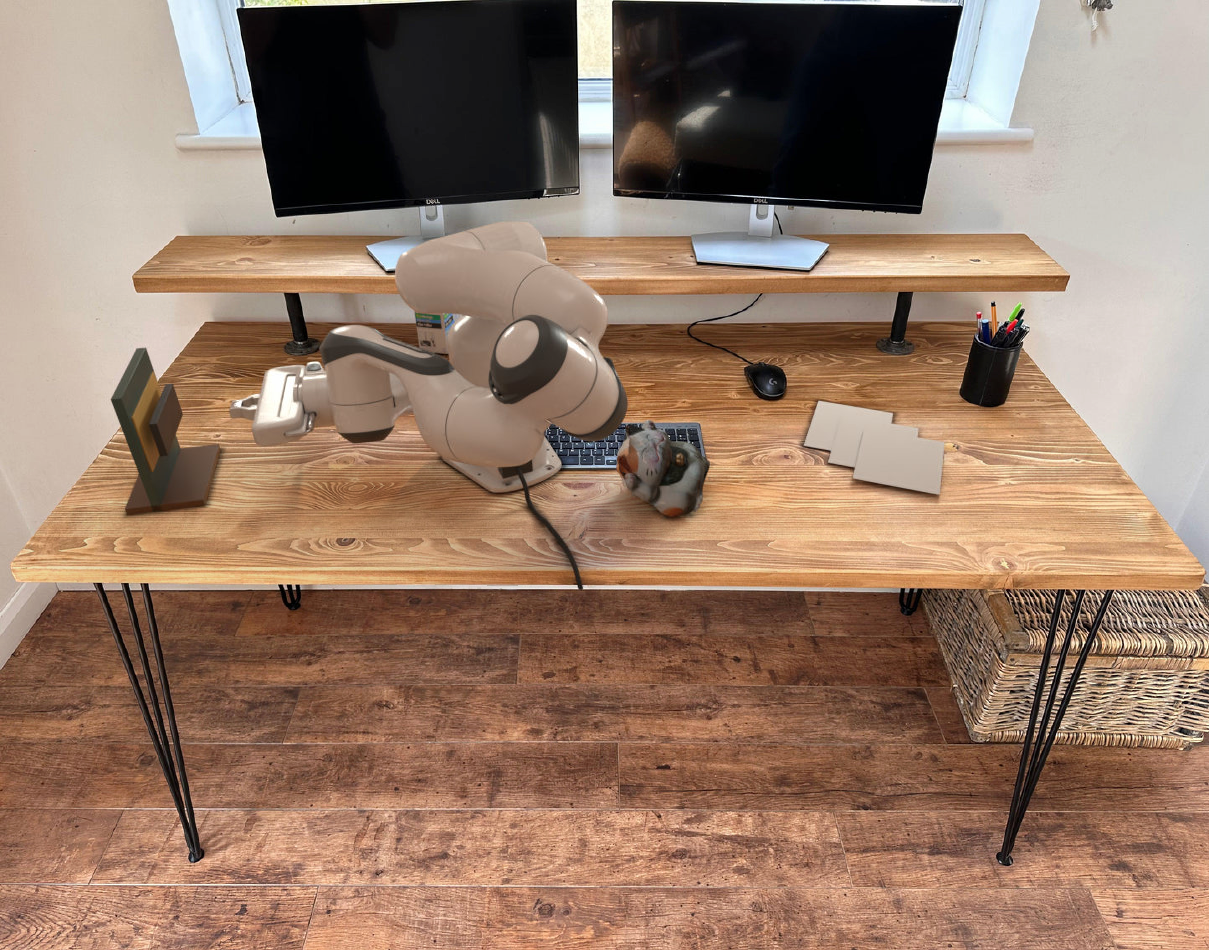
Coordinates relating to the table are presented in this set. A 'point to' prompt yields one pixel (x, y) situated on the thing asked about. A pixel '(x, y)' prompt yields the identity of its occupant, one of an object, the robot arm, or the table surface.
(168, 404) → the switch button
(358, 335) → the robot arm
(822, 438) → the paper stack
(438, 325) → the light bulb box
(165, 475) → the switch stand
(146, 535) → the table surface
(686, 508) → the lucky cat figurine
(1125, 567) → the table surface
